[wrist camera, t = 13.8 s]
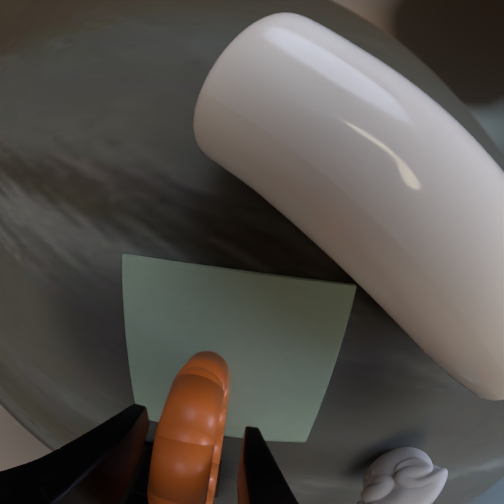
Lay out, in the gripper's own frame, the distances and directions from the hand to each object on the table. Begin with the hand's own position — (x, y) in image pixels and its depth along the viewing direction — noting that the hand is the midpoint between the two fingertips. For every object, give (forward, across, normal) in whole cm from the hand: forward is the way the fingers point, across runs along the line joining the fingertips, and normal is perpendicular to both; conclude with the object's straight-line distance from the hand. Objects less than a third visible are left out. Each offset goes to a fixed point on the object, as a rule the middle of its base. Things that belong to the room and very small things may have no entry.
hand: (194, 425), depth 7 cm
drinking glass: (+2, 0, -11) cm, 11 cm away
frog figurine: (+5, -12, +9) cm, 16 cm away
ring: (+3, 0, +5) cm, 6 cm away
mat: (+5, 0, +1) cm, 5 cm away
